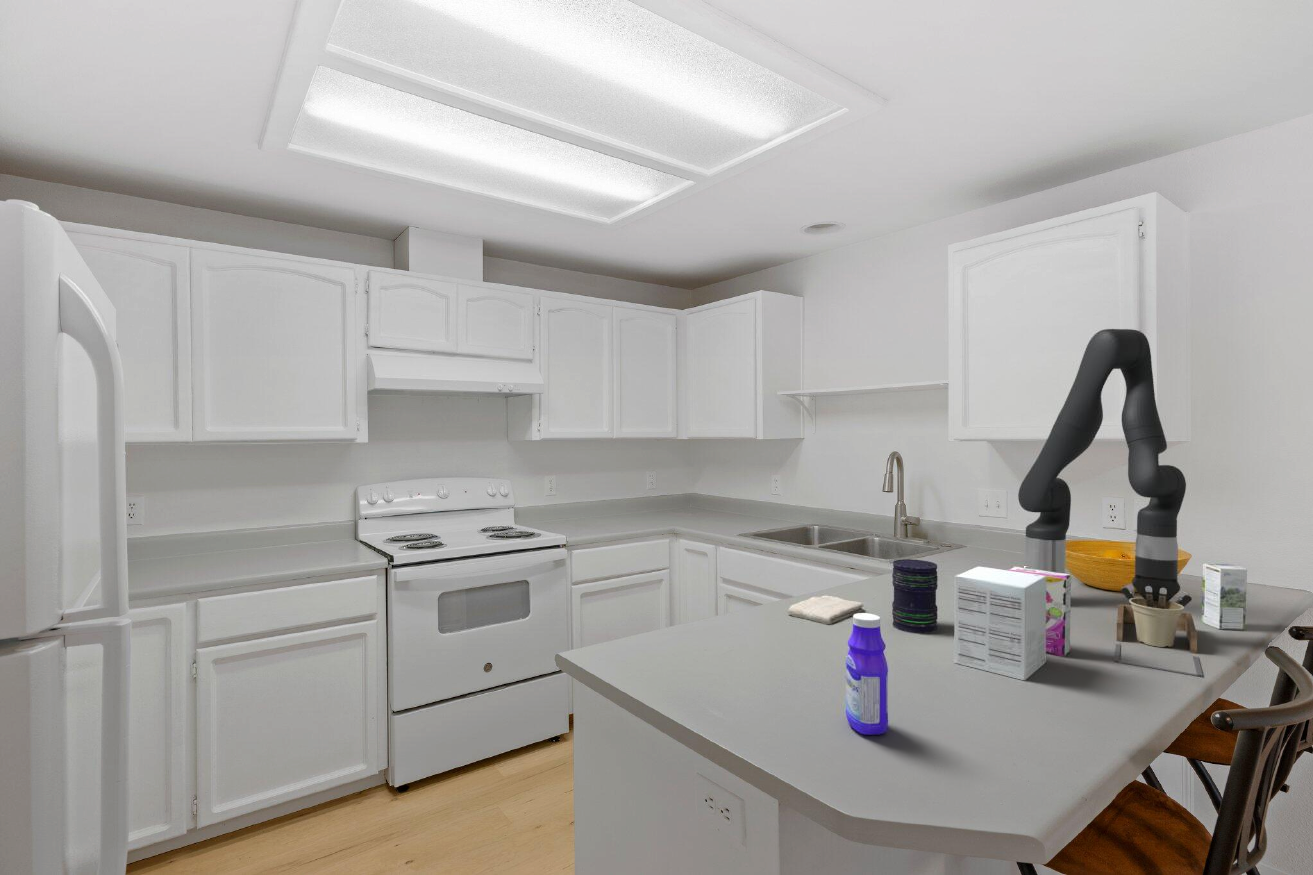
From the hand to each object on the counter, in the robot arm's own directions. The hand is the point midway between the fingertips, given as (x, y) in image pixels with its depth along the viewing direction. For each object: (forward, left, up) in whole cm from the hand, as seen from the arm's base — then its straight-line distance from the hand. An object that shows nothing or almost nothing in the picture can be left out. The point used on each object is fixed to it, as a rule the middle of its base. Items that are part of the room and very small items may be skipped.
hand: (1154, 632), depth 144 cm
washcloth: (-66, -25, -2) cm, 71 cm away
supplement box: (-25, -38, -1) cm, 45 cm away
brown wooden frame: (0, +1, -1) cm, 2 cm away
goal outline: (0, -17, -1) cm, 17 cm away
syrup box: (+13, +19, -1) cm, 23 cm away
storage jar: (-45, -24, -1) cm, 51 cm away
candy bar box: (-20, -24, -1) cm, 31 cm away
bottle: (-37, -81, -1) cm, 89 cm away
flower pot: (0, -5, -1) cm, 5 cm away
